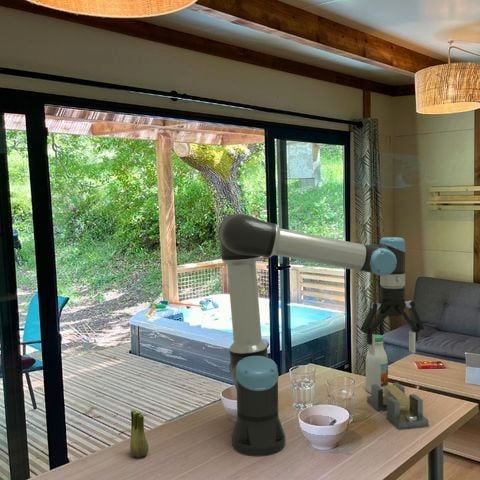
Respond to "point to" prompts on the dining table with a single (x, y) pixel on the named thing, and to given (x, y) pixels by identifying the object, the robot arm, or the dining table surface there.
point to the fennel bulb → (138, 435)
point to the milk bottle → (377, 366)
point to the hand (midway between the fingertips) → (392, 353)
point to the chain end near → (409, 420)
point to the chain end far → (380, 397)
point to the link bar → (398, 398)
